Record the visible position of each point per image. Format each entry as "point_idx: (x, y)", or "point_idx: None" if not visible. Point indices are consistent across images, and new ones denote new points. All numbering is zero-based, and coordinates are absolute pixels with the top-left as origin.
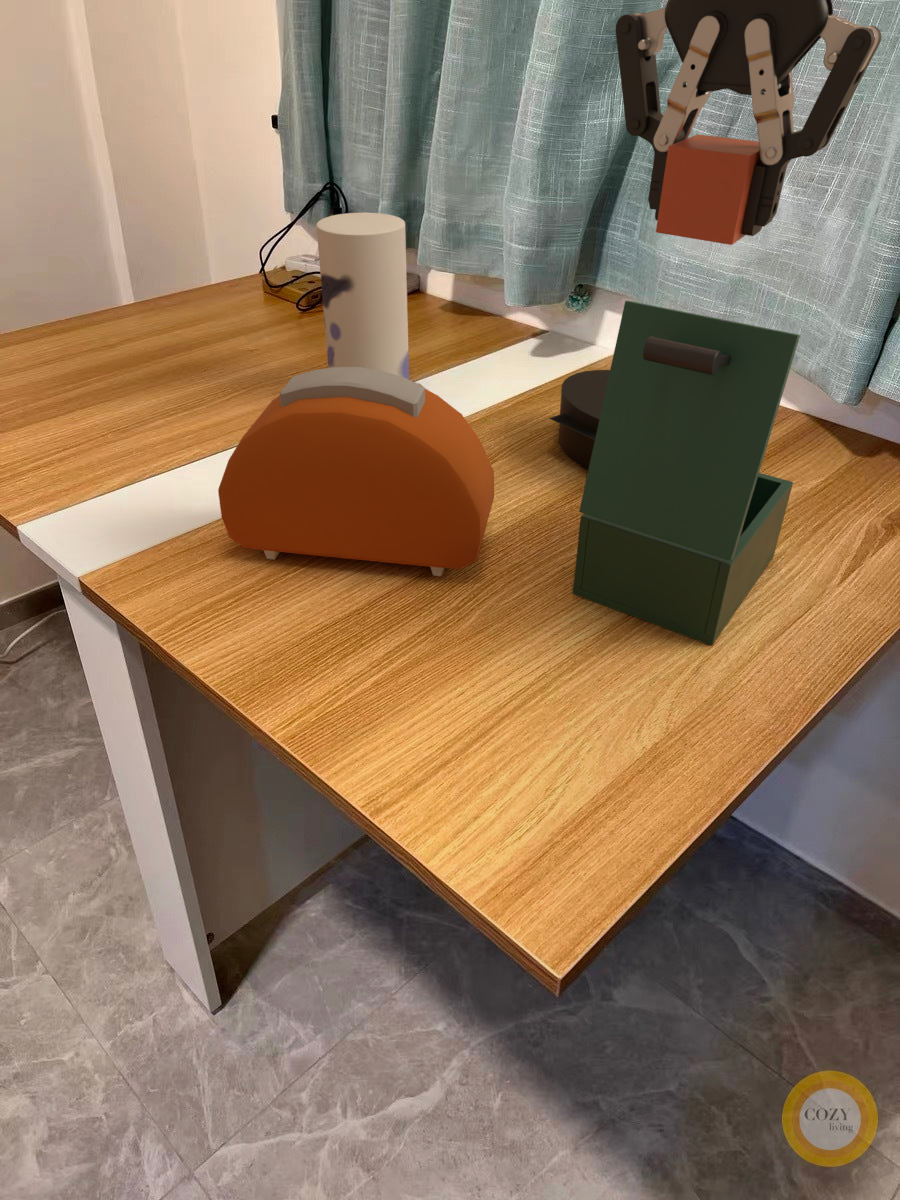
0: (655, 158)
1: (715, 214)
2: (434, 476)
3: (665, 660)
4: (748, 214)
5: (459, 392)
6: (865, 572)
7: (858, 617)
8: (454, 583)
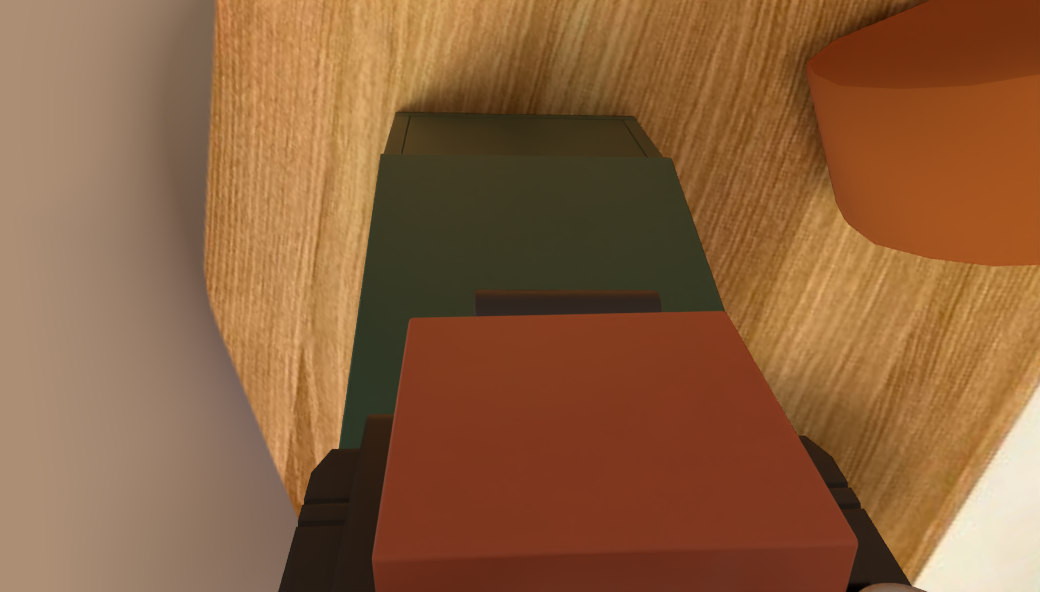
0: (900, 582)
1: (500, 371)
2: (966, 60)
3: (440, 38)
4: (388, 449)
5: (1019, 532)
6: (282, 396)
7: (248, 291)
8: (820, 34)
